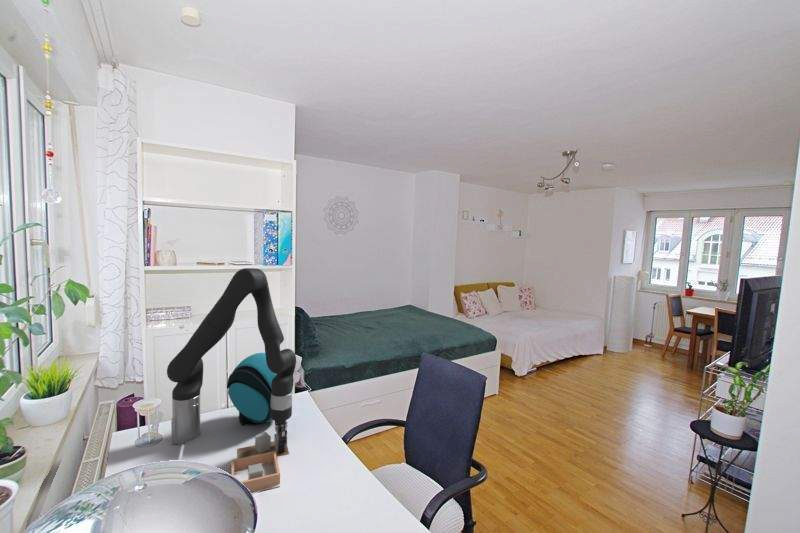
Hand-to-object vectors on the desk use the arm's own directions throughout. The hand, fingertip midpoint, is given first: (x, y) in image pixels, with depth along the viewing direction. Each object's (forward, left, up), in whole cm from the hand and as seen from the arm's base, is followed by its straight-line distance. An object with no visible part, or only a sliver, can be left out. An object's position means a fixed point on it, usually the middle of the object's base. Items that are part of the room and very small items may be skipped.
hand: (280, 448), depth 132 cm
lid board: (-6, +1, -1) cm, 6 cm away
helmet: (-5, +24, -2) cm, 24 cm away
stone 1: (-10, -15, -1) cm, 18 cm away
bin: (-10, -12, -1) cm, 16 cm away
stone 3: (0, 0, 0) cm, 0 cm away
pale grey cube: (-6, +2, 0) cm, 6 cm away
